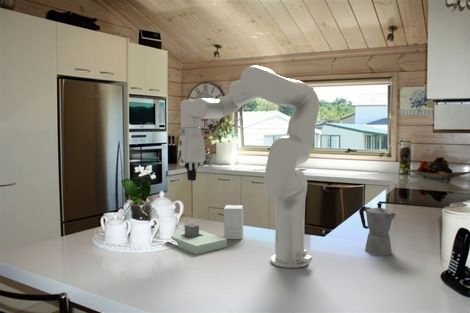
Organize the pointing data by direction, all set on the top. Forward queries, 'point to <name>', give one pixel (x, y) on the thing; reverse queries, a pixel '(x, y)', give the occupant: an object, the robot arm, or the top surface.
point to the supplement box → (233, 221)
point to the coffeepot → (377, 229)
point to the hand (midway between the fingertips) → (191, 180)
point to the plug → (191, 230)
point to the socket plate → (199, 242)
